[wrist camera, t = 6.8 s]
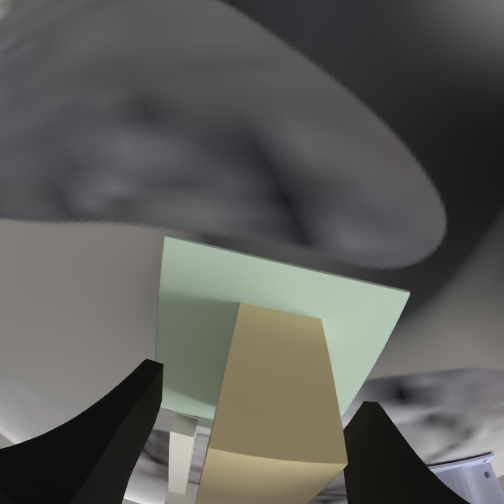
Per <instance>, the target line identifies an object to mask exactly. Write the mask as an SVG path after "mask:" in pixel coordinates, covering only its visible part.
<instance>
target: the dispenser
mask: <svg viewBox="0 0 504 504" xmlns="http://www.w3.org/2000/svg"><path fill="white" fill-rule="evenodd" d="M212 423H213V420H212V419H207V418H203V417H199V418H198V420H197V419H193V418H189V417H185V416H181V415H178V414H176V415H175V418H174V421H173V424H172V427H171V430H170V444H169V482H168V494H167V497H166V501H165V504H195V500H196V495H197V491H198V486H199V485H197V484H193V483H189V482H188V479H189V473H190V467H191V461H192V455H193V449H194V443H195V438H196V432H199V433H203V434H208V435H210V432H211V428H212Z"/></svg>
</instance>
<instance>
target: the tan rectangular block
mask: <svg viewBox="0 0 504 504" xmlns="http://www.w3.org/2000/svg"><path fill="white" fill-rule="evenodd" d="M347 464H348V460H347V453H346V447H345V440H344V434H343V428H342V422H341V416H340V410H339V404H338V399H337V393H336V388H335V383H334V377H333V372H332V367H331V362H330V357H329V352H328V347H327V342H326V337H325V333H324V328H323V323H322V319H317V318H312V317H307V316H302V315H297V314H292V313H287V312H282V311H277V310H273V309H268V308H263V307H259V306H254V305H250V304H245V303H241V302H240V306H239V311H238V315H237V319H236V323H235V328H234V332H233V336H232V341H231V345H230V349H229V354H228V358H227V362H226V367H225V371H224V375H223V379H222V384H221V388H220V392H219V397H218V401H217V405H216V410H215V414H214V419H213V423H212V428H211V432H210V437H209V441H208V446H207V450H206V455H205V459H204V464H203V468H202V473H201V477H200V482H199V486H198V491H197V495H196V500H195V504H307V503H309V502H310V501H311V500H312V499H313V498H314V497H315V496H316V495H317V494H318V493H320V492H321V491H322V490H323V489H324V488H325V487H326V486H327V485H328V484H329V483H330V482H331V481H332V480H333V479H334V478H335V477H336V476H337V475H338V474H339V473H340V472H341V471H342V470H343V469H344V468H345V467H346V466H347Z"/></svg>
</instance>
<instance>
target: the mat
mask: <svg viewBox="0 0 504 504" xmlns="http://www.w3.org/2000/svg"><path fill="white" fill-rule="evenodd" d="M159 287H160V288H159V299H158V313H157V314H158V315H157V329H156V331H157V332H156V350H155V352H156V353H155V362H159V363H162V364H164V369H163V392H162V403H161V406H160V407H162V408H166V409H169V410H173V411H176V412H180V413H184V414H187V415H191V416H195V417H203V418H207V419H212V420H213V419H214V414H215V410H216V405H217V401H218V397H219V392H220V388H221V384H222V379H223V375H224V371H225V367H226V362H227V358H228V354H229V349H230V345H231V341H232V336H233V332H234V328H235V323H236V319H237V315H238V311H239V306H240V302H241V303H245V304H250V305H254V306H259V307H263V308H268V309H273V310H277V311H282V312H287V313H292V314H297V315H302V316H307V317H312V318H317V319H322V323H323V328H324V333H325V337H326V342H327V347H328V352H329V357H330V362H331V367H332V372H333V377H334V383H335V388H336V393H337V399H338V404H339V410H340V416H341V417H342V416H343V414H344V413H345V411H346V410H347V408H348V407H349V405H350V404H351V402H352V401H353V399H354V397H355V396H356V394H357V393H358V391H359V389H360V388H361V386H362V384H363V383H364V381H365V380H366V378H367V376H368V374H369V373H370V371H371V369H372V368H373V366H374V364H375V362H376V361H377V359H378V357H379V355H380V353H381V351H382V350H383V348H384V346H385V344H386V342H387V340H388V338H389V336H390V334H391V333H392V331H393V329H394V327H395V324H396V323H397V321H398V318H399V316H400V314H401V312H402V310H403V308H404V306H405V304H406V301H407V299H408V297H409V295H410V292H409V291H407V290H403V289H399V288H395V287H390V286H386V285H382V284H377V283H373V282H369V281H364V280H360V279H356V278H351V277H347V276H342V275H338V274H334V273H329V272H325V271H321V270H316V269H312V268H308V267H303V266H299V265H295V264H291V263H286V262H282V261H278V260H274V259H269V258H265V257H261V256H257V255H252V254H248V253H244V252H239V251H235V250H231V249H226V248H222V247H218V246H214V245H209V244H205V243H201V242H197V241H192V240H188V239H184V238H180V237H175V236H171V235H165V238H164V246H163V255H162V265H161V276H160V286H159Z"/></svg>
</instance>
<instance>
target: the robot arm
mask: <svg viewBox="0 0 504 504" xmlns="http://www.w3.org/2000/svg"><path fill="white" fill-rule="evenodd" d="M163 369H164V364H162V363H159V362H155V361H152V360H149V359H146V360H144V361H143V362H142V363H141V364H140V365H139V366H138V367H137V368H136V369H135V370H134V371H133V372H132V373H131V374H130V375H129V376H128V377H126V378H125V379H124V380H123V381H122V382H121V383H120V384H119V385H118V386H116V387H115V388H114V389H113V390H112V391H110V392H109V393H108V394H107V395H105V396H104V397H103V398H102V399H100V400H99V401H98V402H96V403H95V404H93V405H92V406H91V407H89V408H88V409H87V410H85V411H84V412H82V413H81V414H79V415H77V416H76V417H74V418H73V419H71V420H69V421H68V422H66V423H64V424H62V425H60V426H59V427H57V428H55V429H53V430H51V431H49V432H47V433H44V434H42V435H40V436H38V437H35V438H33V439H30V440H27V441H24V442H22V443H19V444H16V445H13V446H10V447H6V448H2V449H0V504H122V500H123V497H124V494H125V491H126V488H127V485H128V481H129V479H130V476H131V474H132V471H133V469H134V467H135V465H136V462H137V460H138V458H139V456H140V454H141V452H142V450H143V447H144V445H145V443H146V441H147V439H148V437H149V435H150V433H151V430H152V428H153V426H154V424H155V421H156V418H157V415H158V412H159V409H160V406H161V403H162V392H163ZM343 434H344V440H345V447H346V453H347V460H348V464H347V466H346V467H345V468H344V469H343V470H344V477H345V485H346V492H347V500H348V504H504V496H503V493H502V491H501V488H500V485H499V483H498V480H497V478H496V475H495V473H494V470H493V468H492V466H491V463H490V462H491V461H492V460H493V459H494V458H495V453H492V454H488V455H484V456H480V457H476V458H472V459H468V460H463V461H458V462H453V463H448V464H442V465H436V466H429V467H427V466H426V465H425V463H424V462H423V461H422V460H421V459H420V458H419V456H418V455H417V454H416V453H415V451H414V450H413V449H412V448H411V446H410V445H409V444H408V442H407V441H406V440H405V438H404V437H403V436H402V434H401V433H400V432H399V430H398V429H397V427H396V426H395V425H394V423H393V422H392V420H391V419H390V418H389V416H388V415H387V413H386V412H385V411H384V409H383V408H382V407H381V405H380V404H379V403H378V402H368V401H364V402H363V403H362V405H361V406H360V408H359V409H358V411H357V412H356V414H355V415H354V416H353V418H352V419H351V421H350V422H349V423H348V425H347V426H346V428H345V429H344V430H343Z"/></svg>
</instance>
